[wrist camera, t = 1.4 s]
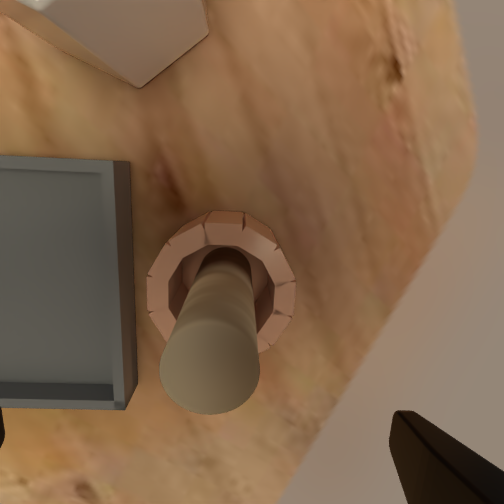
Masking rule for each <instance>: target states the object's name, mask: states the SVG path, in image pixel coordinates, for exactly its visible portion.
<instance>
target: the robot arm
mask: <svg viewBox="0 0 504 504" xmlns="http://www.w3.org/2000/svg"><path fill="white" fill-rule="evenodd" d="M4 438H5V429H4V423H3V416H2V410H1V406H0V448H1V446H2V444H3V441H4ZM389 447H390V452H391V455H392V457H393V461H394V464H395V466H396V469H397V473H398V476H399V479H400V482H401V485H402V488H403V491H404V494H405V497H406V500H407V503H408V504H504V471H502V470H501V469H499V468H498V467H496V466H495V465H493V464H492V463H490V462H489V461H487V460H486V459H484V458H483V457H481V456H480V455H478V454H477V453H476V452H474V451H473V450H471V449H470V448H468V447H467V446H465V445H464V444H462V443H461V442H459V441H458V440H456V439H455V438H453V437H452V436H450V435H449V434H447V433H446V432H444V431H443V430H441V429H440V428H438V427H437V426H435V425H434V424H432V423H431V422H429V421H428V420H426V419H425V418H423V417H421V416H420V415H419V414H417V413H416V412H414V411H405V410H402V411H401V410H398V411H396V412H395V413H394V415H393V419H392V425H391V431H390V437H389Z"/></svg>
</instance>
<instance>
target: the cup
mask: <svg viewBox="0 0 504 504" xmlns="http://www.w3.org/2000/svg"><path fill="white" fill-rule="evenodd" d="M221 247H229V248H233V249H236V250H238V251H240V252H241V253H242V254H243V255H245V257H246V258H247V259H248V261H249V263H250V267H251V275H252V287H253V298H254V309H255V321H256V332H257V343H258V354H259V353H261V352H263V351H265V350H267V349H269V348H271V347H270V344H271V345H274V344H275V343H276V341H277V340H278V338H279V337H280V336H281V334H282V333H283V331H284V330H285V329H286V327H287V326H288V324H289V323H290V322H291V320H292V316H294V306H295V294H296V280H295V279H296V278H295V276H294V274H293V272H292V270H291V268H290V266H289V264H288V262H287V260H286V258H285V256H284V254H283V252H282V250H281V248H280V246H279V244H278V242H277V240H276V238H275V236H274V234H273V232H272V230H270V228H269V227H267V226H265V225H264V224H262V223H261V222H259V221H258V220H256V219H254V218H253V217H251V216H250V215H248V214H247V213H245V214H242V212H236V211H212V213H211V212H210V211H209V212H207V213H206V214H204V215H202V216H200V217H198V218H196V219H194V220H192V221H190V222H188V223H187V224H185V225H183V226H182V227H181V228H180V229H179V230H178V231H177V232H176V233H175V234H174V235H173V236H172V237H171V238H170V239H169V240H168V241H167V242H166V243H165V245H164V246H163V248H162V250H161V251H160V253H159V255H158V256H157V258H156V260H155V261H154V263H153V265H152V266H151V268H150V270H149V271H148V273H147V274H149V275H148V276H147V277H146V281H147V311H150V312H149V316H150V318H151V319H152V321H153V322H154V324H155V325H156V327H157V328H158V330H159V332H160V333H161V335H162V336H163V338H164V339H165V341H166V342H168V340H169V337H170V335H171V333H172V330H173V328H174V326H175V323H176V321H177V319H178V316H179V314H180V312H181V309H182V307H183V305H184V302H185V300H186V298H187V295H188V293H189V291H190V288H191V286H192V284H193V281H194V279H195V277H196V274H197V272H198V270H199V267H200V265H201V263H202V261H203V259H204V257H205V256H206V255H207V254H208V253H209V252H211V251H212V250H214V249H217V248H221Z"/></svg>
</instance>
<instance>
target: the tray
mask: <svg viewBox="0 0 504 504" xmlns="http://www.w3.org/2000/svg"><path fill="white" fill-rule="evenodd" d="M137 384H138V373H137V347H136V320H135V293H134V267H133V240H132V213H131V187H130V162H127V161H108V160H87V159H67V158H46V157H26V156H5V155H0V406H1V408H44V409H92V410H125V409H126V407H127V405H128V403H129V401H130V399H131V397H132V395H133V393H134V391H135V389H136V387H137Z"/></svg>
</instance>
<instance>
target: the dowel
mask: <svg viewBox="0 0 504 504" xmlns="http://www.w3.org/2000/svg"><path fill="white" fill-rule="evenodd" d="M259 374H260V366H259V355H258V343H257V332H256V321H255V309H254V298H253V287H252V275H251V267H250V263H249V261H248V259H247V258H246V257H245V255H243V254H242V253H241V252H240V251H238V250H236V249H233V248H229V247H221V248H217V249H214V250H212V251H211V252H209V253H208V254H207V255H206V256H205V257H204V259H203V261H202V263H201V265H200V267H199V270H198V272H197V274H196V277H195V279H194V281H193V284H192V286H191V288H190V291H189V293H188V295H187V298H186V300H185V302H184V305H183V307H182V309H181V312H180V314H179V316H178V319H177V321H176V323H175V326H174V328H173V330H172V333H171V335H170V337H169V340H168V342H167V344H166V347H165V349H164V351H163V354H162V356H161V359H160V364H159V375H160V380H161V383H162V386H163V388H164V390H165V391H166V393H167V394H168V396H169V397H170V398H171V399H172V400H173V401H174V402H175V403H177V404H178V405H179V406H181V407H183V408H184V409H187V410H189V411H191V412H195V413H199V414H207V415H213V414H221V413H225V412H228V411H231V410H233V409H235V408H237V407H239V406H240V405H242V404H243V403H244V402H245V401H247V400H248V399H249V397H250V396H251V395H252V394H253V392H254V390H255V388H256V386H257V384H258V380H259Z"/></svg>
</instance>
